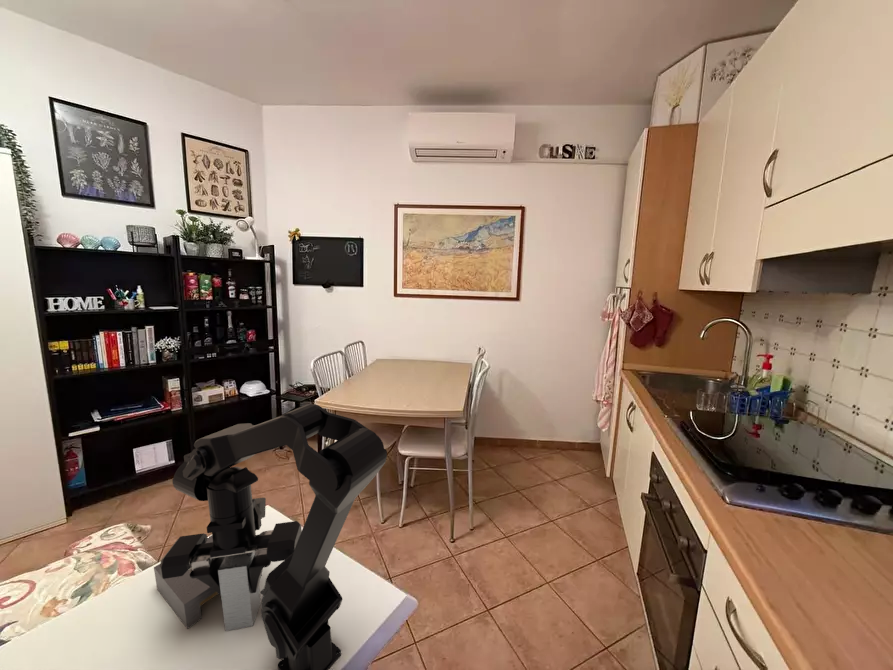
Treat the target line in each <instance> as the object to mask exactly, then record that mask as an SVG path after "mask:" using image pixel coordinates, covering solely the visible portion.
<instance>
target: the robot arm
mask: <svg viewBox="0 0 893 670" xmlns="http://www.w3.org/2000/svg"><path fill="white" fill-rule="evenodd" d="M314 435H315V436H316V435H319V436H321V437H322V438H327V439H331V440H334V442H333V443H330V444H329V445H328V446H325V447H324V448H322V449H320V450H319V451H317V450H315V449H314V448H313V447H312V446H310V445H309V443H308V439H309V438H311V437H313V436H314ZM283 446H284V447H285V446H287V447H288V448H289V449H290V450H292V453H293V457H294V461H295V464H296V469H297V471H298V473H300V474H301V475H302V476H303V477H305V478H306V479H307V480H308V482H309V483H308V484H309V487H310V488H311V490H312V493H314V495H315V497H314V499H313V501H312V504H311V507H310V509H309V511H308V514H307V517H306V519H305V522H304V524H303V527H302V524H301V523H300V522H299V521H297V520H294V521H287V522H285V521H284V522H279V523H275V525H274V528H273V529H272V530H264V531H262V532H261V533H260V534H257V532H256V531H259V530H260V529H261V527H262V519H264V518H265V517H266V501H267V500H266V497H256V498H253V493H252V485H253V484H255V483H257V482H259V477H258V476H257V475H256V474H255V473H254V472H251V471H250V470H249V469H248V468H247V467H239V466H236V465H238V464H240V463H242V462H245V461H246V460H248V459H251V458H252V457H253V456H256V455H257V454H261V453H263V452H267V451H270V450H274V449H278V448H280V447H283ZM193 447H194V448H193V449H192V451H191V452H190V453H187V454H185V455H184V456H183V460H184V461H183V463H181V464H180V466H179V467H177V469H176V471H175V472H174V475H173V478H172V486H173V488H174V489H175V490H176V491H178V492H180V493H182V494H184V495H187V496H188V497H191V498H193V499H195V500H197V501H200V502H207V503H208V511H209V519H210V521H209V523H208V524H207V526H206V533H196V534H188V535H181V536H179V537H178V538H177V539H176V540H175V542H174V543H173V544H172V546H171V547H170V548H169V549H168V551H167V552H166V553H165V555H164V556H163V558H162V559H161V560H160V563H159V564H160V566H159V568H160V575H161V577H162V579H166V578H172V577H179V576H183V575H184V574H185V573H186V572H187V571H188V570H190V569H191V571H190V572H191V573H190V578H191V579H193V578H197V579H198V580H200V581H202V582H203V583H205V584H206V585H208V586H209V587H211V588H212V589H213V590H215V591H216V592H217V593H218V594H217V595H219V596H221V591H220V583H219V575H218V569H219V568H220V566H221V564H222V562H223V560H224V558H225V556H231V555H237V554H244V553H251V552H254V554H255V555H254V557H253V559H252V562H251V564H250V566H249V573H250V581H251V588H252V591H253V593H256V591H257V588H258V585H259V586H260V582H261V581H260V580H261V577H262V576H261V574H263V571H264V568H268V567H269V566H270V565H271V563H277V562H280V564H278V565H277V566H276V567H275V568H274V569H272V570H271V571H270V572H269V573H268V575H267V576H266V578H265V582H264V584H265V585H264V587H263V588H262V590H261V591H260V595H262V599H261V604H260V606H261V612H260V617H261V619H262V623H263V626H264V628H265V629H264V630H265V632H266V635H267V639H268V641H269V644H270V645H271V646H272V647H274V648H275V655H276V658H277V659H279V660H280V661H278V663H277V669H278V670H330V669H331V667H332V666H333V664H335V663H336V662H337V661H338V659H339V658H340V657H341V656H342V650H341V649H340V647H338V646H337V645H336V644H335V643H334V642H333V641H332V634H331V633H332V632H331V626H330V625H329V624H330V623H329V619H330V618H331V617H332V616H333V615H334V613H335V612H336V611H337V610H339V609H340V608H341V605H342V602H343V597H342V595H341V593H340V592H339V590H338V589H337V587H336V586H335V584H334V582H333V581H332V579H331V578H330V570H328V568H327V567H326V565H327V563H328V561H329V558H330V556H331V554H332V551H333V549H334V547H335V545H336V543H337V540H338V538H339V536H340V534H341V531H342V529H343V526H344V525H345V523H346V520H347V518H348V516H349V514H350V511H351V509H352V506H353V505H354V502H355V500H356V498H357V497H358V496H359V495H360V494H361V493H362V492H363V490H364V489H365V488H367V486H368V485H369V484H370V483H371V482H372V480H373V479H374V478H375V477H376V476H377V474H379V472H380V470H381V469H382V468H383V467H384V465H385V463H386V462H387V457H388V451H387V449H386V448H385V446H384V443H383V439H381V437H379V435H377V433H376V432H374V431H373V430H371V429H369V428H368V427H366V426H365V425H364V424H362V423H361V422H359V421H357V420H356V419H354V418H351V417H347V416H343V415H339V414H336V413H332V412H329V411H327V410H326V409H325V408H323V407H322V406H320V405H318V404H316V403H315V404H311V403H310V404H309V403H308V404H305V405H302V406H300V407H297V408H295V409H294V410H291V411H287V412H285V413H283V414H282V415H279V416H277V417H275V418H272V419H269V420H266V421H264V422H261V423H258V424H255V425H254V424H252V423H249V422H247V423H237V424H235V425H233V426H229V427H227V428H224V429H222V430H219V431H217V432H214V433H211V434H209V435H205V436H204V437H201V438H199V439H196V441H195V442H194V444H193ZM207 534H211V535H212V537H213V542H211V543H206V541H207V538H208V535H207ZM189 561H190V562H189ZM189 563H190V565H192V567H191V568H190V565H189ZM189 568H190V569H189Z"/></svg>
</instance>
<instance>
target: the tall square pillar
mask: <svg viewBox="0 0 893 670" xmlns="http://www.w3.org/2000/svg"><path fill="white" fill-rule="evenodd" d="M254 555H255V554H254V552H251V553H244V554H237V555H231V556H226V557H225V558H224V560H223V562H222V564H221V566H220V568H219V569H218V575H219V583H220V591H221V595H220V597H221V607H222V614H223V622H224V631H225V632H228V631H233V630H238V629H243V628H244V629H245V628H249V627H253V626H254V624H255V620H256V618H257V615H258V612H259V610H260V606H261V603H262V599H261V593H260V592H261V591H260V584H259V585H258V588H257V591H256V593H253V591H252V588H251V581H250V573H249V566H250V564H251V562H252V559H253V557H254Z"/></svg>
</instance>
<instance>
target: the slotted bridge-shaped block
mask: <svg viewBox="0 0 893 670" xmlns="http://www.w3.org/2000/svg"><path fill="white" fill-rule="evenodd" d="M208 537H209V538H208ZM208 537H207V541H206V543H211V542H213V537H212V534H211V535H209V536H208ZM225 557H226V556H225ZM189 562H190V561H189ZM189 565H190V563H189ZM159 566H160V563H158V564H157V565H156V566H153V571H154V577H155V583H156V590H157V591H158V592H159V594H160V595H161V596H162V598H163V599H164V600H165V601H166V603H167V604H168V605H169V607H170V608H171V610H172V611H173V612H174V613H175V615H176V616H177V617H178V619H179V620H180V622H182V624H183V625H184V627H186V629H189V628H191V627H192V626H193V625H195V624H196V623H197V622H199V621H200V620H202V612H201V606H203V605H204V604H205V603H207V602H209V601H210V600H212V599H214V598H215V597H216V596H218V595H219V594H218V593H217V592H216V591H215V590H213V589H212V588H211V587H209V586H208V585H206V584H205V583H203V582H202V581H200V580H198V579H197V578H193V579H191V578H190V573H191V571H190V569H192V565H190V568H189V569H188V571H187V572H186V573H185V574H184V575H183V576H179V577H172V578H166V579H162V577H161V575H160V568H159ZM262 574H263V573H262ZM262 574H261V577H263V575H262Z"/></svg>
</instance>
